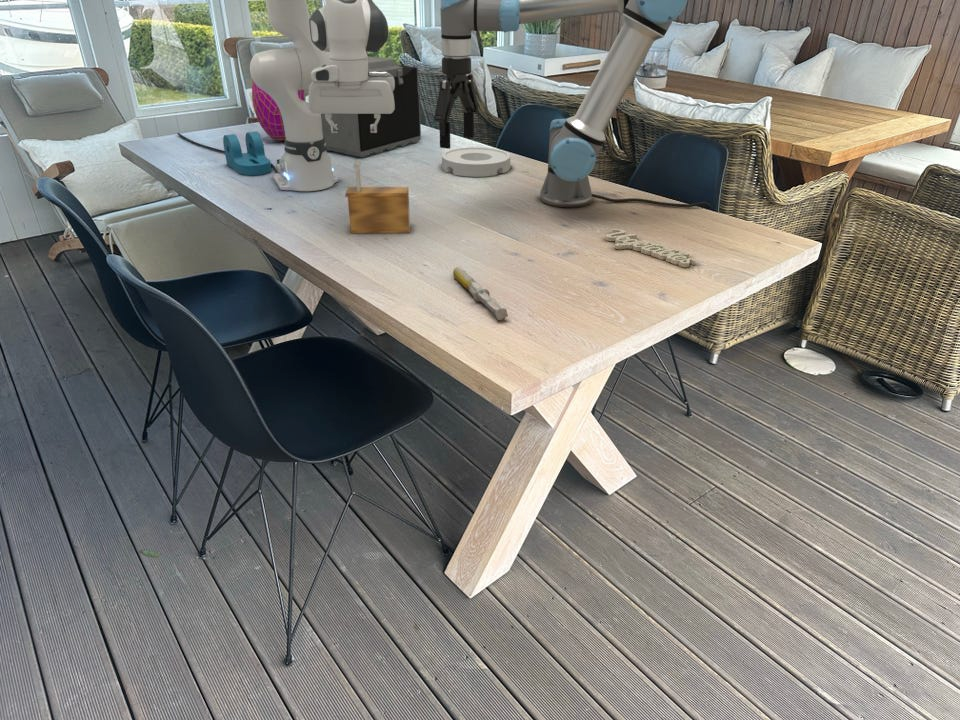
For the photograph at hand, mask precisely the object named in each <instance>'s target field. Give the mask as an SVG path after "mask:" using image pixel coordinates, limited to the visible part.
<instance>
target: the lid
mask: <svg viewBox="0 0 960 720" xmlns="http://www.w3.org/2000/svg"><path fill="white" fill-rule="evenodd" d="M361 165H362V162H361V160H359V159H356V160H354V162H353V165H352V167H353V169H354V171H355V184H356V186H347V188H346V190H345V196H344V197H347V198H348V197H393V196H408V192H409V186H362V182H361V169H360V168H361Z"/></svg>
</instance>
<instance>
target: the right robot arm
mask: <svg viewBox="0 0 960 720" xmlns="http://www.w3.org/2000/svg"><path fill="white" fill-rule="evenodd" d="M687 3H688V0H440V8H439V11H440V33H441V35H440V37H441V41H440V45H441V55H442V58H441V73H442V74H444V75H446V79H445V80H444V79H440V80H439V90H438V91H439V92H438V95H437V102H436V107H435V112H434V115H433V116H434V117H433V119H434V120H433V121H435V122H436V123H438V124H439V126H438V127H439V128H438V129H439V148H440V149H447V150H451V122H450V121H449V120H450V117H451V113H452V110H453V108H454V104H455V102H456V100H457V99H458V97H459V100H460V102H461V105H462V106H463V109H464V112H463V138H468V139H474V137H475V114H476V113H478V111H479V110H478V109H479V103H478V98H477V95H476V91H475V86H474V76H473V74H472V59H471V57H470V56H471V55H472V32H502V33H507V32H517V31H518V30H519V29H520V25H523V24H533V23H539V22H548V21H556V20H563V19H564V20H565V19H572V18H580V17H581V18H582V17H587V16H596V15H597V16H598V15H605V14H613V13H617V14H618V15H620V16H621V17H622V21H623V25H622V26H621V28H620V30H619V31H618V34H617V36H616V37H615V39H614V41H613V44H612V45H611V47H610V49H609V50H608V53H607V54H606V57H605V58H604V61H602V64H601V66H600V67H599V70H598V71H597V73H596V75H595V77H594V79H593V81H592V83H591V85H590V87H589V88H588V90H587V92H586V94H585V96H584V98H583V100H582V101H581V104H580V106H579V107H578V110H577V111H576V113H575V114H574V115H573V116H570V117H567V118H555V119H553V120H551V122H550V127H549V144H548V159H547V173H546V176H545V178H544V181H543V184H542V187H541V189H540V191H539V200H540V202H542V203H543V204H546V205H549V206H553V207H558V208H559V207H560V208H580V207H584V206H588V205H589V204H591V203H592V199H593V198H596V199H598V200H599V199H600V200H603V201H606V202H611V203H628V202H639V203H645V204H652V205H657V206H665V207H675V208H694V207H699V206H705V207H707V209H712V208H713V207H712V206H711V204H710V203H708V202H706V201H698V202H695V203H676V202H665V201H656V200H650V199H646V198H635V197H633V198H632V197H630V198H610V197H607V196H603V195H599V194H595V193H592V188H591V184H590V179H589V175H591V173H592V172H593V170H594V168H595V165H596V161H597V156H598V155H599V152H600V151H601V149H602V147H603V146H604V144H605V142H606V135H605V130H606V128H607V127H608V125H609V123H610V121H611V120H612V117H613V116H614V114H615V112H616V110H617V108H618V107H619V104H620V103H621V102H622V100H623V98H624V96H625V94H626V93H627V91H628V89H629V88H630V85H631V83H632V82H633V81H634V78H635V76H636V74H637V73H638V72H639V69H640V68H641V65H642V64H643V62H644V60H645V59H646V57H647V55H648V53H649V51H650V49H651V47H652V46H653V44H654V42H656V41H658V40H661V39H662V38H664V37H666V33H668V30H669V28H670V27H671V25H672V23H673V21H675V19H677V18H678V17H679V16H680V15H681V14H682V12H684V9H685V8H686V5H687Z"/></svg>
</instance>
